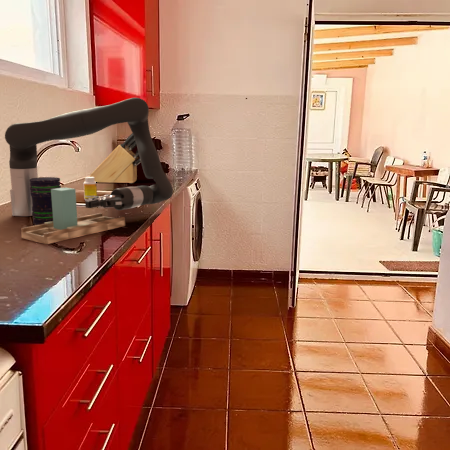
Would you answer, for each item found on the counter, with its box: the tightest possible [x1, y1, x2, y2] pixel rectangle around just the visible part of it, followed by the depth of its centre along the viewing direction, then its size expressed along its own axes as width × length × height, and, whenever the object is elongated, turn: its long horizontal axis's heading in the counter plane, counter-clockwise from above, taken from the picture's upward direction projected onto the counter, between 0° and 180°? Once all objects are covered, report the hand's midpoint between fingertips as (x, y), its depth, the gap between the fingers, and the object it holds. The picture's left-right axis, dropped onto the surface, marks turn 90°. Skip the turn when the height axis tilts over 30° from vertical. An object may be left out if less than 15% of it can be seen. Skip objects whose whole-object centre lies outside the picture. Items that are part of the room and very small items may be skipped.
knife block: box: [88, 132, 141, 184], centre depth 264 cm, size 11×35×31 cm, turn 90°
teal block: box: [51, 187, 78, 230], centre depth 141 cm, size 5×5×12 cm
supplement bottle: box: [82, 176, 98, 202], centre depth 204 cm, size 6×6×10 cm
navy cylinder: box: [30, 176, 62, 225], centre depth 158 cm, size 10×10×15 cm
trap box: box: [20, 212, 126, 245], centre depth 146 cm, size 30×12×3 cm, turn 145°
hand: (87, 204), depth 148 cm, fingers closed
